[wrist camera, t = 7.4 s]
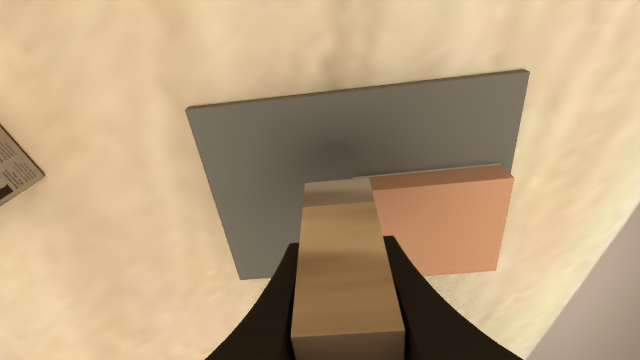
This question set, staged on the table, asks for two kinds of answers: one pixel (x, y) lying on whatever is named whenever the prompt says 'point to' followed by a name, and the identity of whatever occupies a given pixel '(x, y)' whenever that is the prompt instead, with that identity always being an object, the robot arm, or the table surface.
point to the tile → (445, 216)
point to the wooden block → (344, 278)
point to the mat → (343, 148)
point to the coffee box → (14, 169)
